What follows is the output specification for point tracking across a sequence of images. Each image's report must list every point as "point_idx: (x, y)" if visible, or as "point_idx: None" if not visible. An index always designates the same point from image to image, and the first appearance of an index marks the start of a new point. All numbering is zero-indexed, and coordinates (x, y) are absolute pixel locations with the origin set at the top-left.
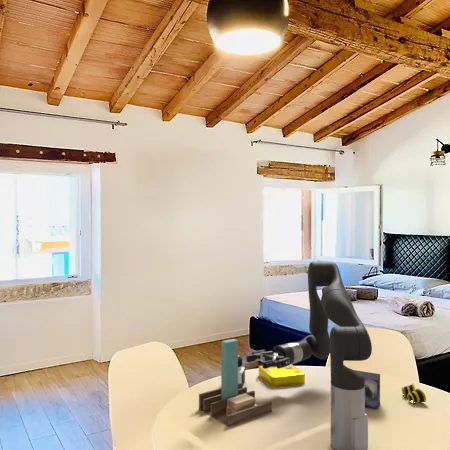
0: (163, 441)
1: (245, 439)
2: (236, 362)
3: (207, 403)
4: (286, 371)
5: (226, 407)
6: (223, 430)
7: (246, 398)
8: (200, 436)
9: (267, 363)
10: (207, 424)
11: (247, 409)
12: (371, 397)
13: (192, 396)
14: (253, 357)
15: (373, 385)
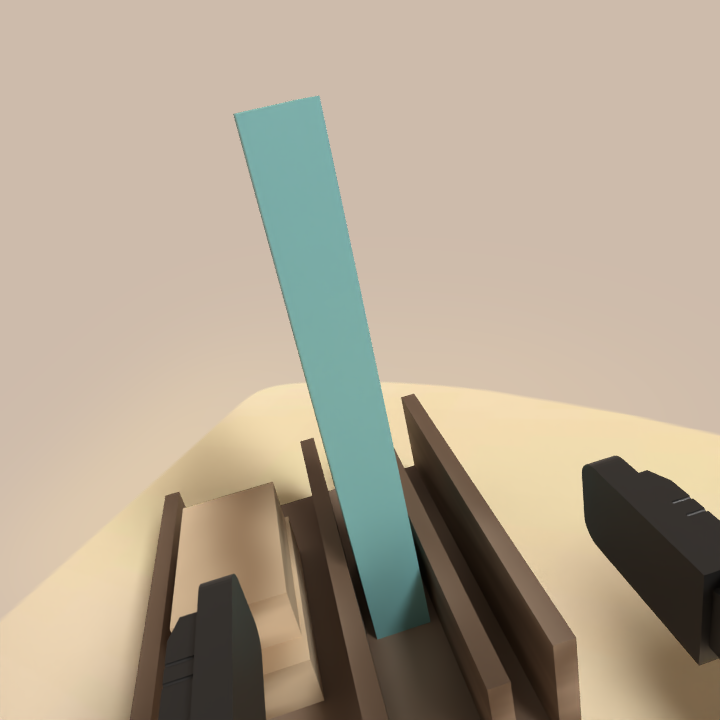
0: (271, 394)
1: (74, 599)
2: (294, 334)
3: None
4: None
5: (287, 518)
6: None
7: (204, 574)
8: (230, 467)
9: (174, 639)
10: (306, 496)
11: (157, 593)
12: None
13: (695, 478)
14: (664, 573)
15: None
